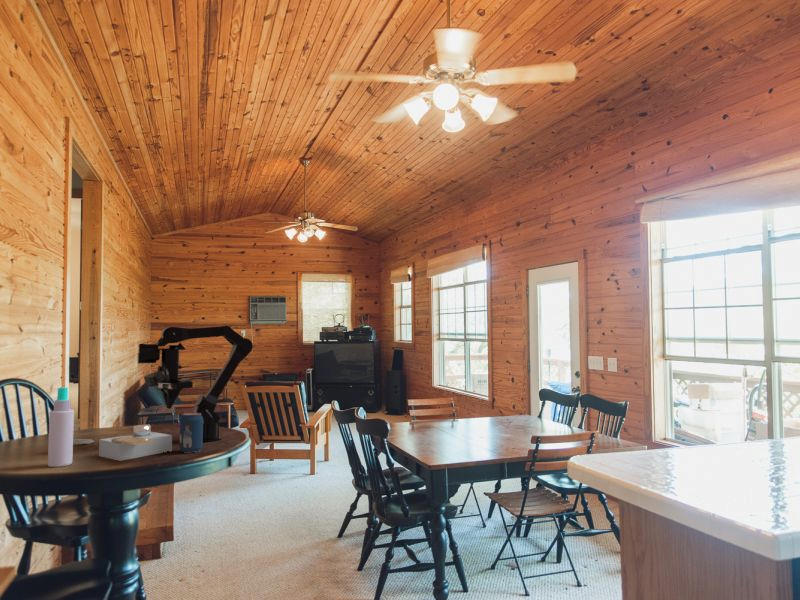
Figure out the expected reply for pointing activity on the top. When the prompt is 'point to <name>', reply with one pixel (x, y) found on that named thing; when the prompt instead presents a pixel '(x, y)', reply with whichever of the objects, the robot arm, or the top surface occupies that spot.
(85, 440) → the caliper
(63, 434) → the spray bottle
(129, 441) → the plate
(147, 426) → the steel pin
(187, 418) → the soda can
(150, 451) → the block
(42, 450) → the top surface
